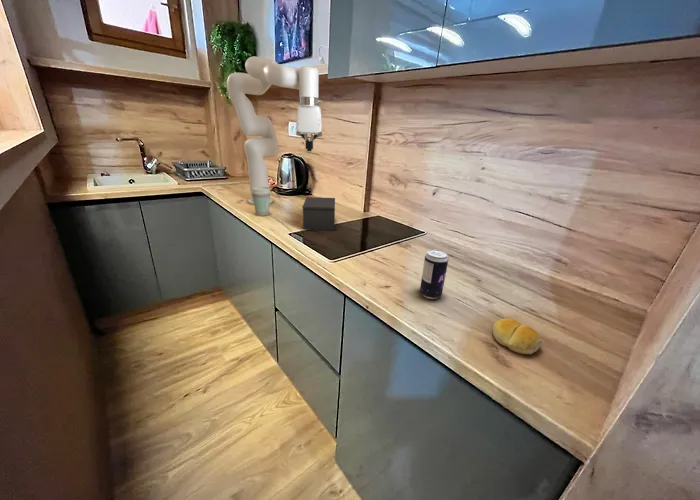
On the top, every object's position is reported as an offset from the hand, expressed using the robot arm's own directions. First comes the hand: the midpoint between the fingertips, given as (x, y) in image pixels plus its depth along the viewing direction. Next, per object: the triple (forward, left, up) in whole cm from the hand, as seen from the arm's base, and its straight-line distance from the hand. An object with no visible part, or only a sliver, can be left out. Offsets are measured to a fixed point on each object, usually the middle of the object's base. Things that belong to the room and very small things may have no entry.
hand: (309, 150), depth 128 cm
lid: (+10, +5, -20) cm, 23 cm away
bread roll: (+85, +50, -29) cm, 103 cm away
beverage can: (+67, +37, -29) cm, 82 cm away
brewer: (+10, +5, -29) cm, 31 cm away
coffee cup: (-2, -22, -29) cm, 37 cm away
